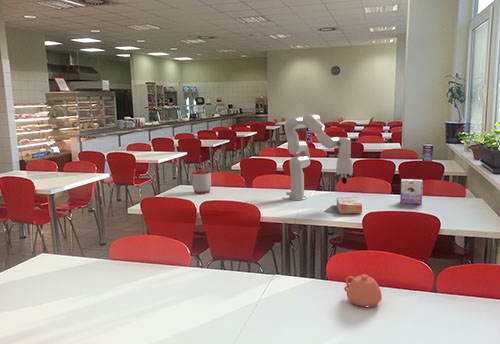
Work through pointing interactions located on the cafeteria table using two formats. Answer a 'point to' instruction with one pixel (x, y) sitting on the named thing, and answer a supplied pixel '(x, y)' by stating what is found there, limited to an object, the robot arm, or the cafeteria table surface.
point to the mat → (334, 210)
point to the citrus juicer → (201, 181)
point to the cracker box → (349, 205)
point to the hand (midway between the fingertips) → (344, 183)
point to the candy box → (411, 191)
